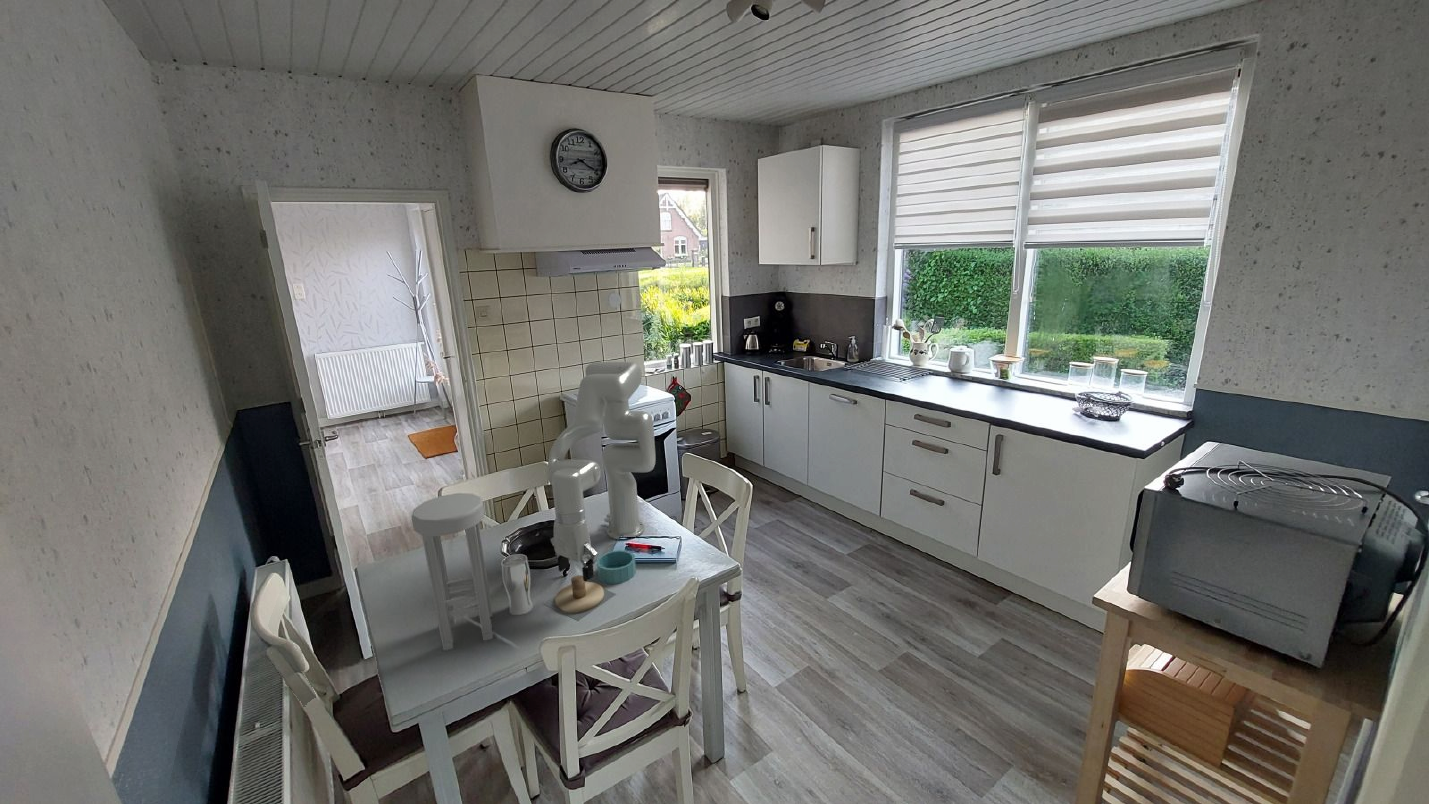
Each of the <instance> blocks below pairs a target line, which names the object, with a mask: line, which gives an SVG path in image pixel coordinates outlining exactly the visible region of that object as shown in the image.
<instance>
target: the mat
mask: <svg viewBox="0 0 1429 804" xmlns="http://www.w3.org/2000/svg"><path fill="white" fill-rule="evenodd" d="M585 582H588V580H587V581H585ZM603 590H604V598H603V600H602V602H601V603H600V604H599V605H598V606H596V607H595V608H593V609H591V610H588V611H585V612H581V613H566V612H563V611H561V610H559V609H558V608H557V606H556V602H555V598H556V595H554V596H553V597H551V598H550V599H548V600H547V601H545V602H543V603H542V605H544V606H546V607H548V608H551V609H553V610H555V611H557V612H559V613H561V614H563V615H565V616H567V617H569V618H571V619H573V620H576V621H578V622H579V621H580V620H582V619H583V618H584V617H586V616H588V615H589V614H590V613H592V612H593V611H595V610H596V609H597V608H599V607H600V606H602V605H603V604H605V603H607V601H609V600H610V599H612V598H614V597H615V596H616V595H617V593H615V592H612V591H610V590H608V589H605V588H603Z"/></svg>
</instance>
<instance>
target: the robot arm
mask: <svg viewBox="0 0 1429 804" xmlns="http://www.w3.org/2000/svg"><path fill="white" fill-rule="evenodd" d="M584 371H585V376H584V377H583V378H582V379H581V381H580V383H579V387H578V393H577V397H576V402H575V408H574V413H573V419H572V422H571V424H569V426H567V427H566V428H565V429H564V430H563V431H562V432H561V433H560V434H559V435H558V436H557V438H556V439H555V440H554V442H553V444H552V446H551V448H550V452H549V456H548V460H547V461H548V462H547V467H546V468H547V469H546V478H547V482H548V483H549V484H550V485H552V495H553V503H554V504H553V505H554V512H555V513H554V514H555V515H554V516H555V519H554V523H553V537H551V538H550V542H551V544H552V548H553V550H554V552H555V557H556V558H557V566H558V571H559V572H562V571H564V570H566V569H568V568H569V567H570V561H569V559H570V560H572V561H574V562H579V561H580V563H581V564H582V566H583V567H581V569H582V576H583V580H584V581H587V582H588V581H589V580H591V579H592V578H594V576H595V573H594V564H595V562H597V560H598V555H599V553H598V552H597V551H596V550H595V548H594V547H592V543H591V536H590V530H589V527H588V523H587V520H586V511H585V501H584V500H585V499H584V492H585V491H587V490H589V489H591V488H593V487H594V486H596V485H597V484H598V482H599V480H600V478H601V476H602V470H601V469H602V468H601V466H600V464H599V463H598V462H597V461H594V460H592V459H590V460H589V459H572V458H571V459H569V458H567V459H566V458H565V457H566V455H567V453H568V451H569V450H570V448H571V447H572V446H573V445H575V444H577V443H578V442H579V441H582V440H584V439H586V438H588V437H590V436H592V435H595V434H597V433H600V432H601V430H602V429H603V430H604V434H605V436H606V438H608V439H609V440H615V441H636V442H612V443H609V444H607V445H605V446H604V448H603V449H602V451H601V461H602V466H603V468H604V472H605V473H604V474H605V477H606V484H607V485H606V487H607V497H608V505H609V513H607V514H606V517H605V518H604V522H605V523H608V527H607V528H606V534H607V536H608V537H609V538H611V539H614V540H619V539H618V538H619V537H621V536H622V537H635V538H637V537H639V536H641V535H642V534H643V533H644V531H645V525H644V523H642V522H641V521H640V515H639V513H640V512H639V503H638V490H637V482H636V478H635V477H634V475H633V474H632V473H649V472H652V470H654V468H655V465H656V445H655V443H656V442H655V430H654V429H655V428H654V421H653V418H652V416H651V415H650V413H649V412H647V411H642V410H630V404H629V399H631V397H632V396H633V395H634V394H635V392H636V391H637V390H638V389H639V387H640V385H641V383H642V377H643V376H642V374H643V373H642V369H641V367H640V365H639V364H638V363H636V362H634V361H598V362H597V361H596V362H591V363H589V364H588V365H587V366H586V367H585V370H584ZM636 536H637V537H636ZM585 558H586V559H587V561H586V560H585Z"/></svg>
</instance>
